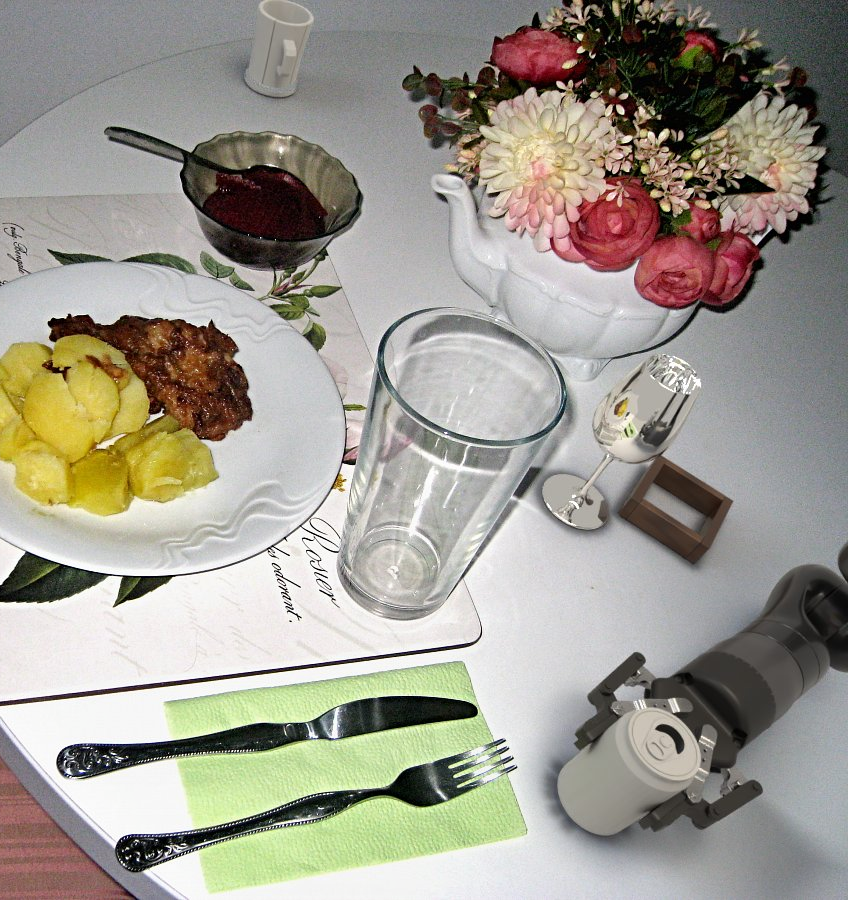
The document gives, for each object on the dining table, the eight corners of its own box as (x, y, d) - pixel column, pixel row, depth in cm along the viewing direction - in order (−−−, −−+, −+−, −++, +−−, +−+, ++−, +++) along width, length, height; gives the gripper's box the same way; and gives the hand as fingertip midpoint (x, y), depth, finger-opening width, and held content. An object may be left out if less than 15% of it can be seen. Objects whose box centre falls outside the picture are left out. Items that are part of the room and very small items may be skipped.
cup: (313, 96, 148) (333, 24, 140) (277, 109, 143) (295, 35, 134) (268, 66, 152) (284, -6, 143) (231, 78, 147) (246, 4, 138)
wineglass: (527, 494, 98) (619, 363, 83) (564, 464, 102) (658, 334, 88) (585, 543, 95) (691, 415, 80) (620, 509, 99) (727, 383, 85)
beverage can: (639, 813, 76) (723, 757, 67) (593, 854, 73) (674, 801, 64) (585, 749, 79) (658, 688, 70) (537, 786, 76) (608, 726, 67)
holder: (718, 516, 102) (733, 500, 100) (693, 564, 96) (709, 548, 94) (645, 470, 104) (659, 453, 102) (617, 513, 99) (631, 497, 97)
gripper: (694, 602, 78) (570, 683, 70) (832, 744, 71) (712, 852, 63) (648, 644, 84) (528, 724, 76) (773, 779, 77) (656, 882, 69)
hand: (613, 782), depth 69 cm, fingers closed on beverage can, 6 cm apart
